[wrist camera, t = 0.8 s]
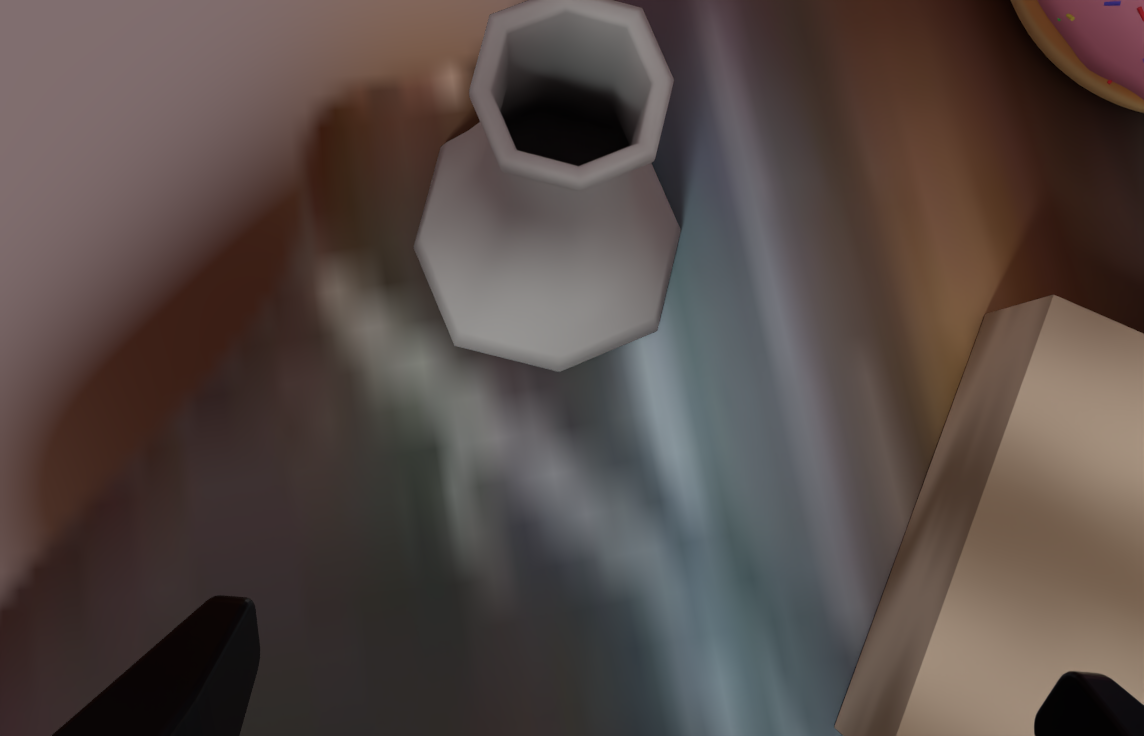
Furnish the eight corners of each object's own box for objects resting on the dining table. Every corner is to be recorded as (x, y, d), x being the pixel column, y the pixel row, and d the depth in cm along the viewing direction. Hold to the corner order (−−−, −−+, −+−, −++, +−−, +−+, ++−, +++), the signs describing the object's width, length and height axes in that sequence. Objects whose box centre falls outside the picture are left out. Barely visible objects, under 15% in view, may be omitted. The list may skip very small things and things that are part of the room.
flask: (423, 383, 22) (348, 332, 12) (406, 120, 23) (321, -129, 13) (690, 362, 23) (825, 299, 13) (666, 106, 23) (777, -143, 14)
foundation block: (1142, 856, 22) (1239, 919, 19) (834, 727, 22) (883, 771, 19) (1275, 439, 24) (1384, 438, 21) (985, 313, 23) (1054, 294, 20)
